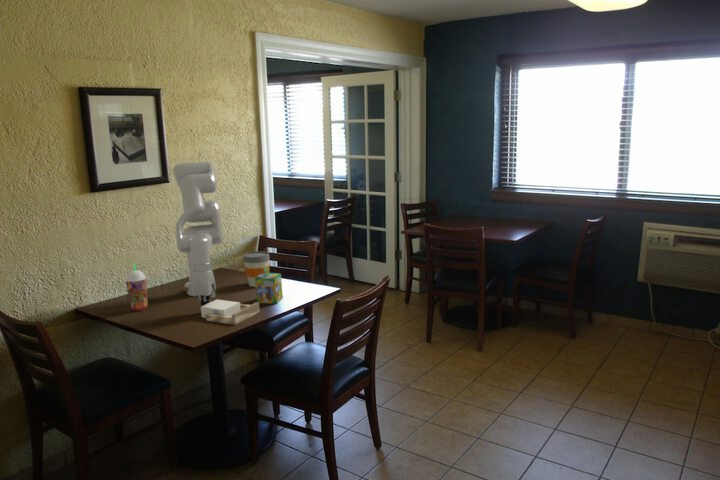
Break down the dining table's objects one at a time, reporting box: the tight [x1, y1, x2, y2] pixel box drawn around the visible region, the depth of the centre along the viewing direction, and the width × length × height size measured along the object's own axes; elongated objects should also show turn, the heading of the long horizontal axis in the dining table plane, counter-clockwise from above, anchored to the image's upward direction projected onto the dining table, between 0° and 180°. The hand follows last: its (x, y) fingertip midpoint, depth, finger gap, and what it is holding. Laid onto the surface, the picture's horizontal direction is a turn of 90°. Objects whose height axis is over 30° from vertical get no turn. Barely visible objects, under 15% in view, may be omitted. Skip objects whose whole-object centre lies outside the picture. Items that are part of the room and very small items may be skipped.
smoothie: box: [125, 263, 149, 312], centre depth 244 cm, size 8×8×20 cm
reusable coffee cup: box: [242, 250, 271, 288], centre depth 276 cm, size 13×13×15 cm
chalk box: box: [255, 267, 284, 305], centre depth 250 cm, size 9×9×15 cm
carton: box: [200, 298, 241, 319], centre depth 234 cm, size 12×10×5 cm
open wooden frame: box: [205, 301, 261, 325], centre depth 233 cm, size 14×16×4 cm
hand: (205, 309), depth 239 cm, fingers closed
